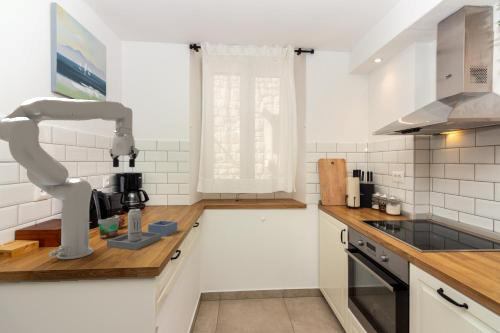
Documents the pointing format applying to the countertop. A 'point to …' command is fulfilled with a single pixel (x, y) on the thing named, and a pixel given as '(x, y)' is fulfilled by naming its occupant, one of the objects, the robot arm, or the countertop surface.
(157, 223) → the blue square box
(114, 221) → the food container
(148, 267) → the countertop surface
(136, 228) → the energy drink can
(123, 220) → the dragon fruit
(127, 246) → the tray
